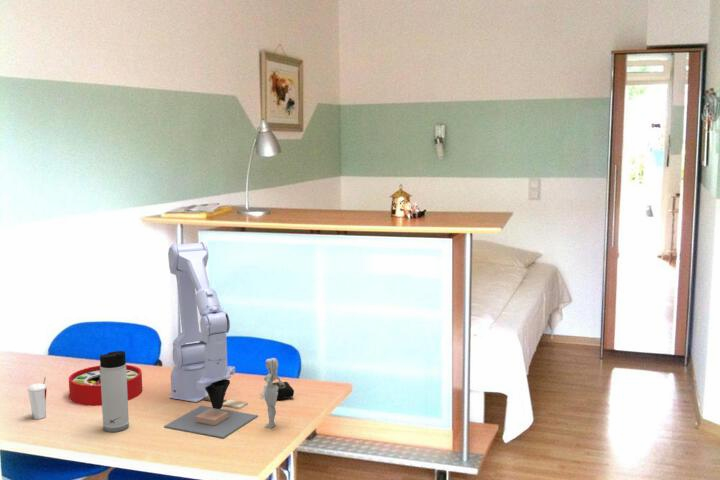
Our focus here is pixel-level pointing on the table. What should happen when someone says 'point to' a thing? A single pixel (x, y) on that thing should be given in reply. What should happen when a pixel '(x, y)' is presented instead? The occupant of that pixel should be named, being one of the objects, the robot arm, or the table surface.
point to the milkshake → (38, 399)
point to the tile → (211, 417)
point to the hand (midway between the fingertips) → (217, 407)
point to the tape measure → (284, 390)
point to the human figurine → (271, 389)
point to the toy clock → (89, 385)
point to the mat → (219, 430)
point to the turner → (230, 403)
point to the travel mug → (114, 391)
